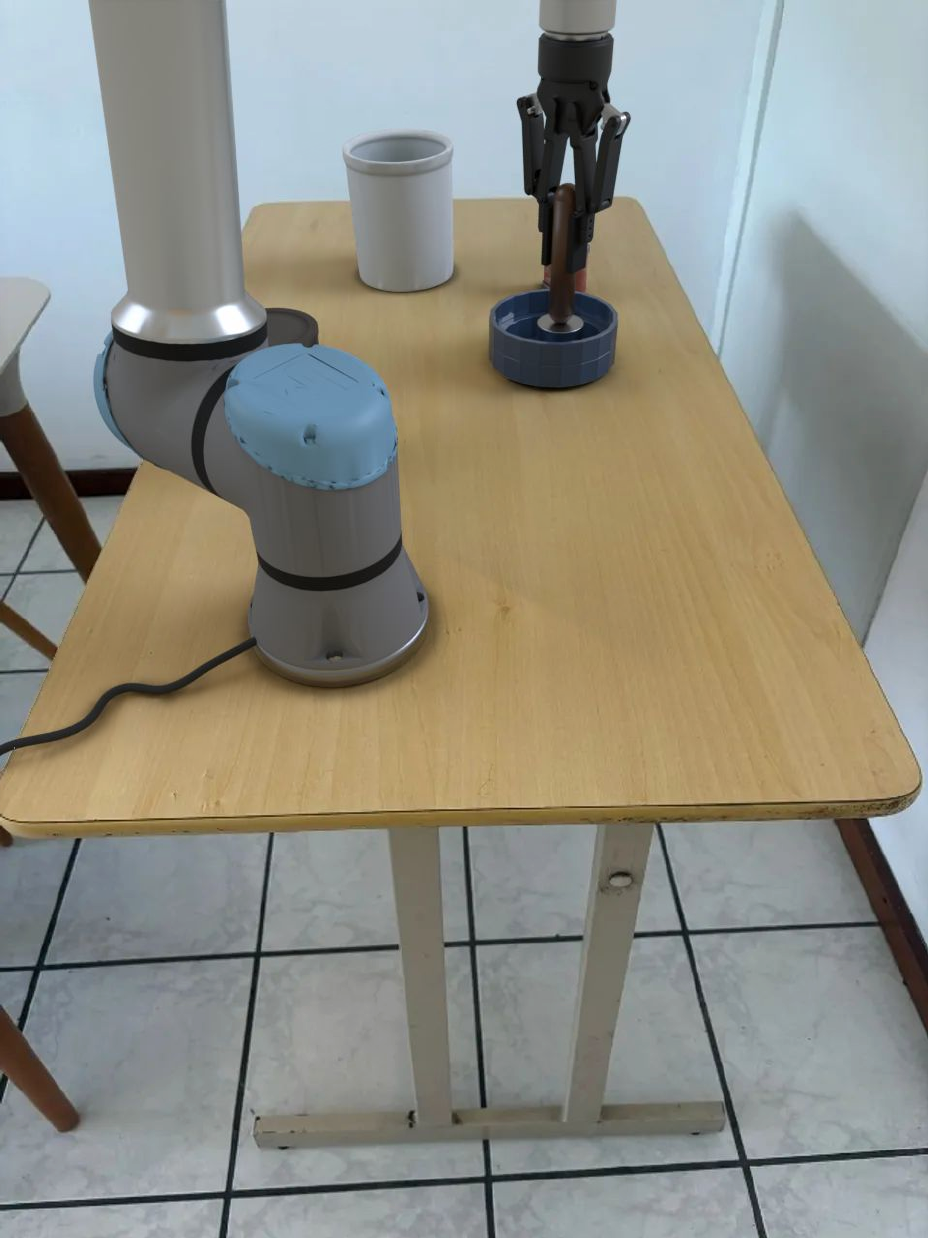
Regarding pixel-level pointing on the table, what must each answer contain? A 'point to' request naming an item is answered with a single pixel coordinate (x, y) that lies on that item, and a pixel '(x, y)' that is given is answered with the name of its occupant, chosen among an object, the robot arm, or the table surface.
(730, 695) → the table surface
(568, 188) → the brown stamp
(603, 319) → the bowl
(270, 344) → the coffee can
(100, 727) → the table surface
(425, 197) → the utensil holder
